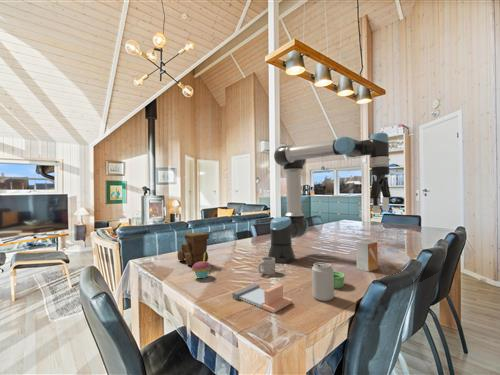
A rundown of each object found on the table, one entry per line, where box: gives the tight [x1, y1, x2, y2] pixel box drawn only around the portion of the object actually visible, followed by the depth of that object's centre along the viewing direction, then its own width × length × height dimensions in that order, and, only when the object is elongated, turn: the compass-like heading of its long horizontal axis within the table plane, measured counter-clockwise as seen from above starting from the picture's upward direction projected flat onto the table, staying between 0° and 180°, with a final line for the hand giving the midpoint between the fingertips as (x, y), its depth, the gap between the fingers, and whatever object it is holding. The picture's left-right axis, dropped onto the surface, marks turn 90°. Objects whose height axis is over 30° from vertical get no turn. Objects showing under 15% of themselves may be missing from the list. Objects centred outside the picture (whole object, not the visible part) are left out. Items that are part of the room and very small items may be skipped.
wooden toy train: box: [176, 231, 210, 266], centre depth 140 cm, size 20×11×17 cm, turn 39°
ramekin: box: [333, 270, 346, 289], centre depth 103 cm, size 9×9×4 cm
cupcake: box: [191, 253, 212, 279], centre depth 116 cm, size 9×8×12 cm
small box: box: [355, 240, 379, 273], centre depth 122 cm, size 8×6×13 cm
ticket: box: [232, 283, 266, 309], centre depth 92 cm, size 13×12×2 cm
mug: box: [257, 256, 276, 276], centre depth 119 cm, size 10×7×7 cm, turn 135°
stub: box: [261, 283, 293, 314], centre depth 85 cm, size 5×10×6 cm, turn 136°
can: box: [311, 261, 335, 302], centre depth 91 cm, size 8×8×12 cm
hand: (381, 211), depth 118 cm, fingers open, 13 cm apart
